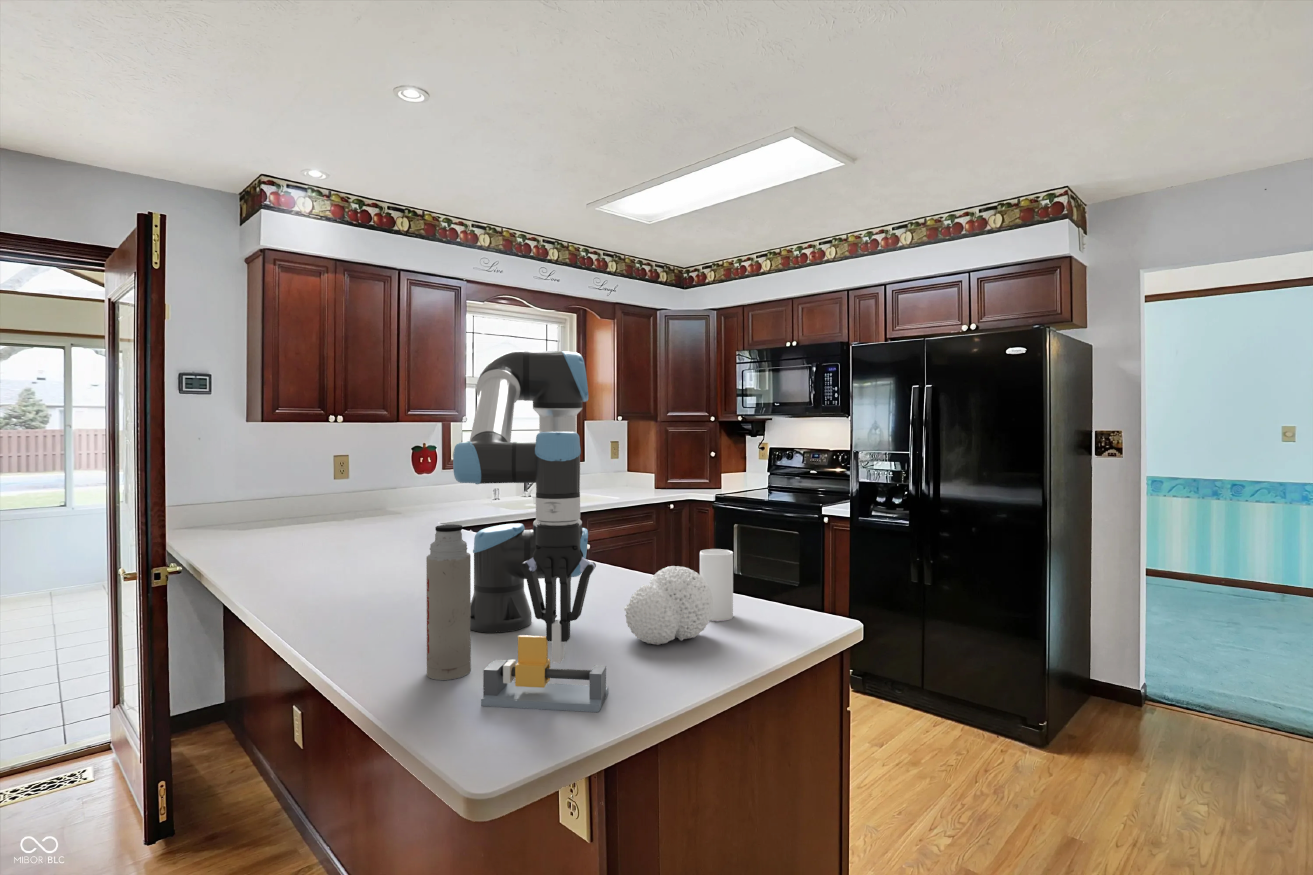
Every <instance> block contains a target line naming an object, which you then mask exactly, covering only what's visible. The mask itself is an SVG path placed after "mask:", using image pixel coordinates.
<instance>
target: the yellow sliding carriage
mask: <svg viewBox="0 0 1313 875" xmlns="http://www.w3.org/2000/svg"><path fill="white" fill-rule="evenodd" d="M548 643H549V641H547V639H546V635H527V634H526V635H525V634H519V635H517V662H516V665H515V678H514V682H515V686H521V687H541V688H544V687H545V686H546V684H547V683H549V682H550V681H551V678H545V668H551V658H549V657H548V656H549V654H548V653H549V648H548V646H549V644H548Z"/></svg>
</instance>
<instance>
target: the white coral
mask: <svg viewBox="0 0 1313 875" xmlns="http://www.w3.org/2000/svg"><path fill="white" fill-rule="evenodd" d="M623 608H624V611H625V613H626V614H625V619H626V624H627V628H629V629H630V631H631V633H632V634H633V635H634V636H635V637H636V639H639V640H640V641H642V642H643V643H644V642H645V644H648V645H649V644H650V645H651V644H652V645H657V646H659V645H661V644H662V645H665V644H667V643H668V642H670V641H673V640H674V639H675V638H676V639H677V638H678V640H679V641H683V640H687V639H691V638H693V639H694V638H696V637H697V636H699V635H700V634H701V632H703V631H704V630H705V629H706V627H707V626H708V625H709V622H710V619H711V617H712V611H713V597H712V594H711V590H710V589H709V586H708V585H707V583H706V581H705V580H704V579H703V578H702V577H701V576H700V573H698V572H696V571H695V570H693V569H690V567H685V566H679V565H677V566H675V565H671V566H667V567H666V566H665V567H664V568H661V569H660V570H658V571H657V572H655V574H653V576H652V578H650V581H649V585H646V584H643V585H642V586H640V587H639V588H638V589H636V590H635V592H634V593H633V594H632V595H631V597H630V600H629V603H627V604H626V606H625V607H623Z"/></svg>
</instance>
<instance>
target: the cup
mask: <svg viewBox="0 0 1313 875" xmlns="http://www.w3.org/2000/svg"><path fill="white" fill-rule="evenodd" d="M699 575H700V576H701V577H702V578H703V579H704V580H705V581H706V583H707V585H708V586H709V589H710V590H711V594H712V597H713V611H712V617H711V619H710V621H711V622H712V621H713V622H723V621H724V622H725V621H729V620H732V619H733V618H734V552H733V551H732V550H729V549H721V548H710V549H702V550H700V551H699ZM710 621H709V622H710Z"/></svg>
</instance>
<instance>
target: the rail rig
mask: <svg viewBox="0 0 1313 875" xmlns="http://www.w3.org/2000/svg"><path fill="white" fill-rule="evenodd" d="M516 664H517V660H516V659H508V660H507V659H493V660H492V661H491V662H490V663H489V664H488V665H487V666H486V667H484V668H483V671H482V673H483V675H482V676H483V678H482V679H483V685H482V686H483V688H482V690H483V691H482V692H483V696H482V697H481V698H480V706H481V707H495V708H496V707H498V708H499V707H500V708H514V709H532V710H533V709H534V710H549V711H550V710H551V711H553V710H554V711H555V710H556V711H569V712H570V711H572V712H588V713H589V712H590V713H591V712H592V713H599V712H601V708H602V706H603V704H604V703H605V700H606V698H607V697H608V695H609V685H607V665H599V664H598V665H597V664H596V665H594V666H593V667H592V669H576V668H575V669H574V668H573V669H572V668H555V667H554V668H551V667H550V668H545V678H550V679H558V680H578V681H580V680H581V681H589V682H588V683H589V684H567V683H551V682H550V683H549V682H548V683H547V684H546V686H545V687H544V688H541V687H521V686H515V665H516Z"/></svg>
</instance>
